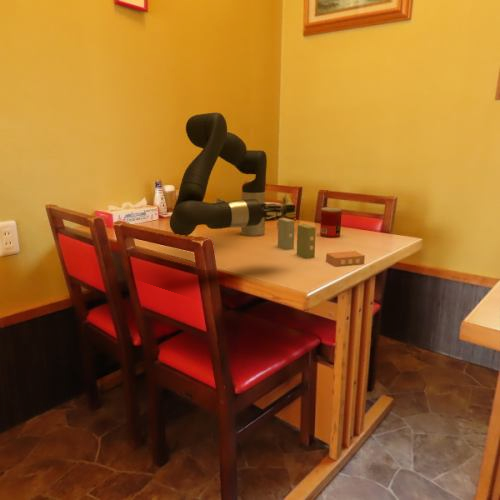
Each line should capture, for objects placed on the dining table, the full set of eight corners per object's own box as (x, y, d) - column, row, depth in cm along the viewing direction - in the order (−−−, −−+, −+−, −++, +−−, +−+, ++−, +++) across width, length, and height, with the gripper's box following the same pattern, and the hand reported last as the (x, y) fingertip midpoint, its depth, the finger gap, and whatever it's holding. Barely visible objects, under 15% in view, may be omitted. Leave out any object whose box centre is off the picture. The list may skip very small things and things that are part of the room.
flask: (215, 221, 195) (215, 198, 192) (210, 220, 196) (210, 198, 194) (226, 218, 203) (225, 196, 200) (221, 218, 204) (220, 196, 202)
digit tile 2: (307, 258, 133) (308, 228, 130) (296, 254, 138) (297, 224, 136) (314, 257, 134) (316, 227, 132) (304, 253, 140) (305, 224, 137)
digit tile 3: (335, 258, 124) (365, 255, 126) (326, 253, 129) (354, 250, 132) (335, 267, 124) (364, 265, 127) (325, 262, 130) (354, 259, 133)
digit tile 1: (286, 249, 144) (287, 221, 141) (277, 246, 149) (278, 218, 146) (294, 248, 145) (294, 221, 142) (284, 245, 150) (285, 218, 148)
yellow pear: (289, 231, 173) (290, 196, 169) (274, 227, 182) (275, 193, 178) (302, 230, 176) (303, 195, 172) (287, 225, 185) (288, 192, 181)
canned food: (340, 238, 161) (341, 210, 158) (319, 237, 163) (320, 209, 160) (340, 234, 168) (341, 207, 166) (320, 233, 170) (321, 206, 167)
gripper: (252, 203, 108) (307, 198, 116) (231, 197, 119) (282, 192, 127) (252, 231, 110) (306, 224, 118) (231, 222, 121) (281, 216, 129)
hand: (293, 208), depth 122 cm, fingers closed
